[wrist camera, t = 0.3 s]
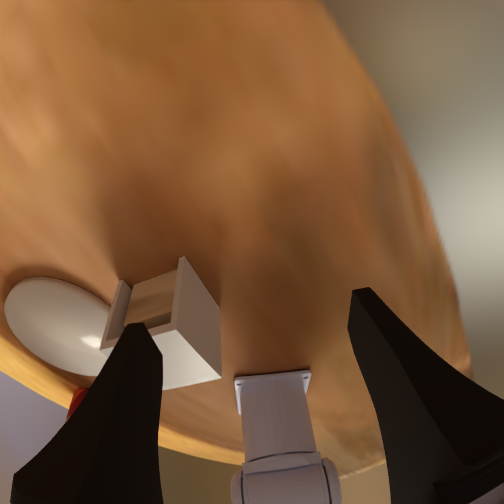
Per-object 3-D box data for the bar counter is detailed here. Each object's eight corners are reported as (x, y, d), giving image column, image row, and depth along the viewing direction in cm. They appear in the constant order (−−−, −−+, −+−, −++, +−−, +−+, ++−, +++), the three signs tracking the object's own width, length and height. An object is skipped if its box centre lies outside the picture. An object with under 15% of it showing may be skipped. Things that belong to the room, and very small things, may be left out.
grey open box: (219, 308, 24) (221, 378, 19) (159, 326, 25) (151, 392, 20) (184, 255, 21) (176, 329, 16) (119, 281, 21) (99, 350, 16)
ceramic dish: (148, 370, 29) (147, 378, 28) (45, 364, 28) (43, 371, 27) (104, 273, 21) (101, 282, 20) (-13, 278, 20) (-18, 286, 19)
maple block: (205, 303, 24) (205, 346, 20) (162, 317, 24) (156, 358, 21) (179, 266, 21) (174, 310, 18) (133, 284, 22) (123, 326, 19)
